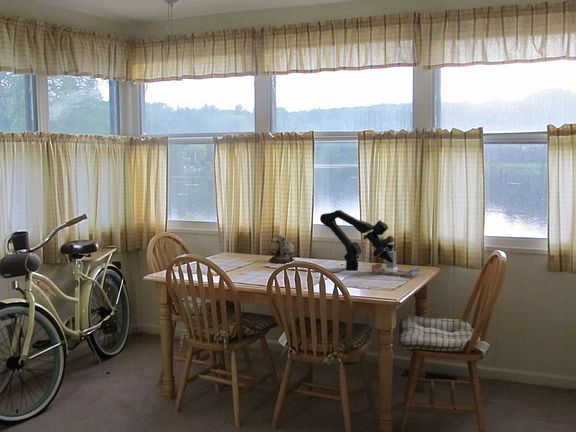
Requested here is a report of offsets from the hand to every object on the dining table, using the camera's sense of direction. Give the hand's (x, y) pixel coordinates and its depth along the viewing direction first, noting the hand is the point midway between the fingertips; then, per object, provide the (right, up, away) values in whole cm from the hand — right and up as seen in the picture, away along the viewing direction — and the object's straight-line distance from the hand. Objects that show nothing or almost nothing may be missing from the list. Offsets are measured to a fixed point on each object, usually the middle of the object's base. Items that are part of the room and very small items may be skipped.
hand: (393, 261), depth 330 cm
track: (+1, -7, 0) cm, 7 cm away
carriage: (-1, -6, +1) cm, 6 cm away
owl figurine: (-63, -4, +39) cm, 74 cm away
